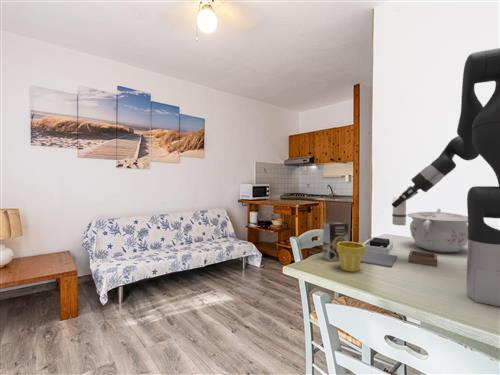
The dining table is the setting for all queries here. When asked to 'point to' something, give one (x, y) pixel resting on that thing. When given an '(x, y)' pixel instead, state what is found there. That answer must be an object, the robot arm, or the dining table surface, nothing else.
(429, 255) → the walnut collar
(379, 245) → the electronic device
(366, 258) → the charcoal mat
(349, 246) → the plant pot
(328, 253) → the coffee box
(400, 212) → the white capsule dome
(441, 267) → the dining table surface
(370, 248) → the grey organizer frame
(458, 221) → the chamber pot
